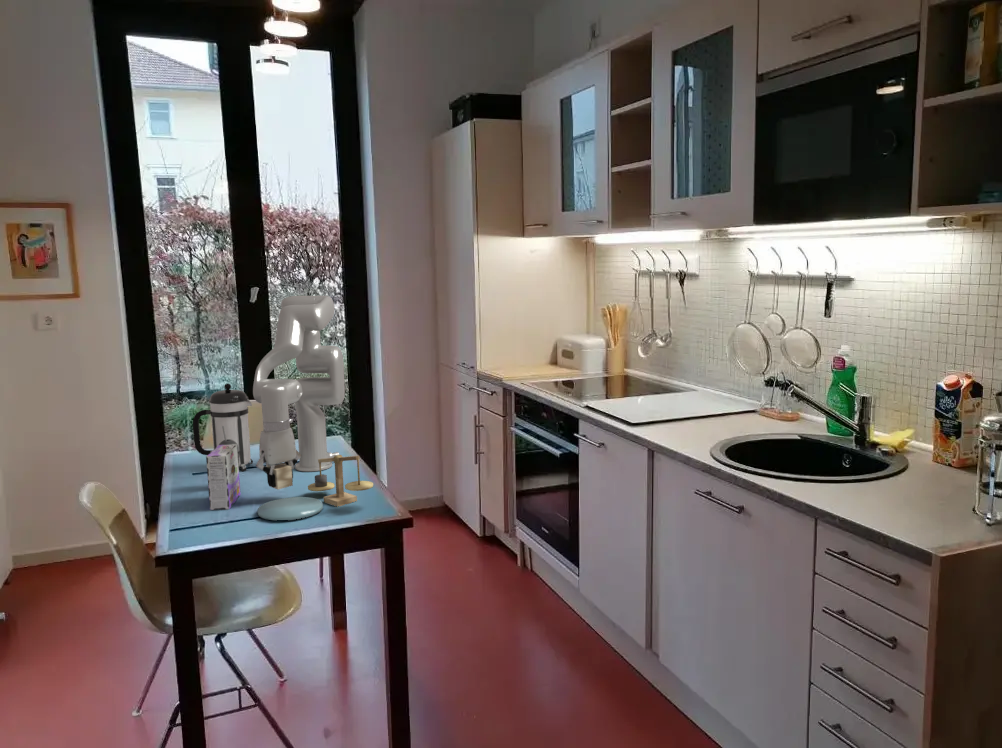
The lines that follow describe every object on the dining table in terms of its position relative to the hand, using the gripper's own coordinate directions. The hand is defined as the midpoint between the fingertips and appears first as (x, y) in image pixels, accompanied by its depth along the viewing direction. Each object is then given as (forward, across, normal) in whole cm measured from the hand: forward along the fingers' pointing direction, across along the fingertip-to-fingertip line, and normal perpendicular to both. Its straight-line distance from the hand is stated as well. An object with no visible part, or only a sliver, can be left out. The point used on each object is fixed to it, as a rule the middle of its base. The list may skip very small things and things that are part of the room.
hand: (280, 483), depth 235 cm
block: (+1, 0, 0) cm, 1 cm away
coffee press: (+7, -7, -46) cm, 47 cm away
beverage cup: (+6, +4, -24) cm, 25 cm away
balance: (+5, -10, +16) cm, 19 cm away
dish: (+5, +5, +13) cm, 14 cm away
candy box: (+5, +13, -10) cm, 17 cm away
